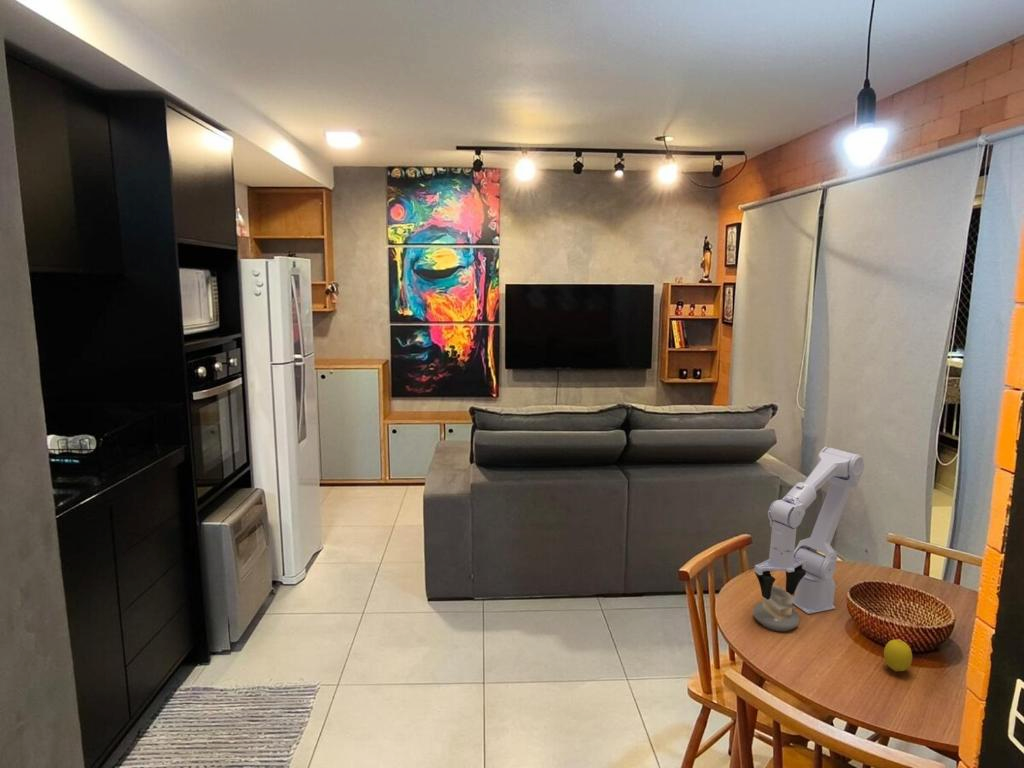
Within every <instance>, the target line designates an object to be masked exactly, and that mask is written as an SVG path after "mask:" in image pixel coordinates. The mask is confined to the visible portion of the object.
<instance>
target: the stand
mask: <svg viewBox="0 0 1024 768" xmlns="http://www.w3.org/2000/svg"><path fill="white" fill-rule="evenodd" d="M762 606H763V601H760V602H757V603H755V605H754V606H753V613H752V614H753V617H754V618H755V619H756V620H757V622H758V621H759V622H760V623H761V624H762V626H763V627H765V628H766V627H767V628H766V629H769V630H771V629H772V631H775V630H776V631H775V632H789V631H791V630H793V629H794V628H796V627H798V625H799V624H800V615H799V613H798V612H797V611H796V610H795V609H793V608H792V613H791V618H788V619H783V620H777V619H776V618H774V617H773V616H772V615H770V614H769V613H768V612H767V611H765V610H764V609H763V608H762ZM759 622H758V623H759ZM760 623H759V624H760ZM761 624H760V625H761Z"/></svg>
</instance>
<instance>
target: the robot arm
mask: <svg viewBox="0 0 1024 768" xmlns="http://www.w3.org/2000/svg"><path fill="white" fill-rule="evenodd" d="M864 469H865V464H864V458H863V456H862V455H861V454H859V453H852V452H848V451H844V450H841V449H837V448H833V447H830V446H825V447H823V448H822V449H821V450H820V451H819V453H818V455H817V461H816V466H815V467H814V468H813V469H812V471H811V472H810V474H809V475H808V476H807V478H806V479H805V480H804V481H803V482H802V481H800V482H799V481H798V482H797V483H795V484H794V485H793V487H792V488H791V489H790V490H789V491H787V493H786V494H785V495H784V497H783V498H782V499H777V500H774V501H773V502H771V504H770V505H769V509H768V511H767V518H768V519H769V526H770V528H771V533H770V534H771V535H770V547H769V556H768V559H765V560H764V561H763V562H760V563H758V564H755V565H754V571H753V572H754V574H755V576H756V579H757V580H758V582H759V583H758V584H759V586H760V591H761V596H762V598H763V597H764V598H765V599H767V600H768V599H770V596H771V589H772V586H774V583H775V581H776V578H775V577H774V576H772V574H771V572H785V591H786V592H787V593H789V594H790V595H791V596H793V603H792V605H795V606H796V607H797V608H799V609H800V610H802V612H804V613H806V614H808V615H809V614H815V613H819V612H820V613H821V612H825V611H830V610H834V609H836V606H835V605H834V602H835V601H834V599H835V590H836V582H835V579H834V578H833V576H834V574H835V572H836V566H837V565H836V564H837V561H838V554H837V553H836V551H835V550H834V548H833V546H832V545H831V543H832V541H833V538H834V535H835V532H836V529H837V528H838V525H839V522H840V520H841V517H842V514H843V511H844V509H845V506H846V503H847V500H848V498H849V495H850V492H851V490H852V488H855V487H857V486H858V484H859V482H860V479H861V477H862V474H863V471H864ZM828 481H829V484H830V485H829V487H828V490H827V492H826V495H825V497H824V500H823V503H822V505H821V507H820V508H821V509H820V511H819V513H818V515H817V516H818V517H817V518H816V521H815V524H814V527H813V530H812V531H811V535H810V536H809V537H807V538H803V539H801V540H799V541H798V543H797V545H796V537H797V528H798V527H799V526H800V525H801V523H802V521H803V520H804V519H803V518H804V516H805V515H806V510H807V509H808V507H810V505H811V504H812V503H813V502H814V501H815V500H816V499H817V497H818V496H817V491H818V490H819V489H821V488H822V487H823V486H824V485H825V484H826V483H827V482H828ZM795 546H796V547H795ZM814 550H815V551H814ZM816 551H817V552H816ZM819 552H820V553H819Z"/></svg>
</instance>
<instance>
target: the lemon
mask: <svg viewBox="0 0 1024 768" xmlns="http://www.w3.org/2000/svg"><path fill="white" fill-rule="evenodd" d="M883 658H884V659H883V660H884V662H885V663H886V665H887V666H888V667H889V668H890V669H891V670H893V671H894V672H896V673H898V672H904V671H907V670H908V669H909V668H910V667H911V666H912V665H911V664H912V663H913V653H912V649H911V647H910V646H909V645H908V644H907V643H906V642H905V641H903V640H902V639H900V638H899V639H891V640H889V641H888V642H887V643H886V644H885V647H884V649H883Z"/></svg>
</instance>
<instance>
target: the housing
mask: <svg viewBox="0 0 1024 768" xmlns="http://www.w3.org/2000/svg"><path fill="white" fill-rule="evenodd" d="M793 596H794V595H791V594H789V593H788V592H787V591H786V590H784V589H783V588H781V587H780V586H778V585H776V584H775V585H772V589H771V596H770V599H768V600H767V599H765V598H764V597H763V596H762V602H763V606H762V608H763V609H764V610H765V611H767V612H768V613H769V614H770V615H772V616H773V617H774V618H776V619H777V620H783V619H788V618H791V613H792V609H793Z"/></svg>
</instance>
